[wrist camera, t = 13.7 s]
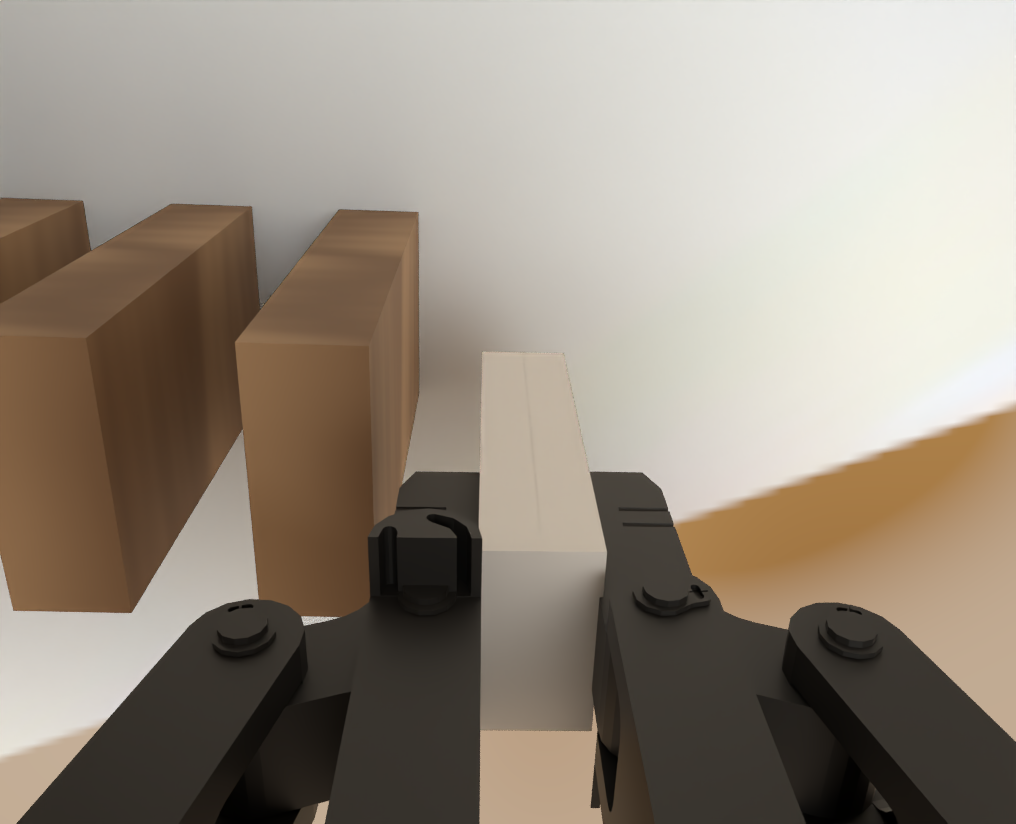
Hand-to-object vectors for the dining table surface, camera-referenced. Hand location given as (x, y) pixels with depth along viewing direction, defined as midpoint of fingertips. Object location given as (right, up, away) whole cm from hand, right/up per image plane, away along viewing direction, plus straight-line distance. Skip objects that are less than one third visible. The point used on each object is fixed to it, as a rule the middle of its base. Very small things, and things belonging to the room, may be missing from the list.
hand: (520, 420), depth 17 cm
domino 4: (-8, +3, +7) cm, 11 cm away
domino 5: (-4, +3, +7) cm, 8 cm away
